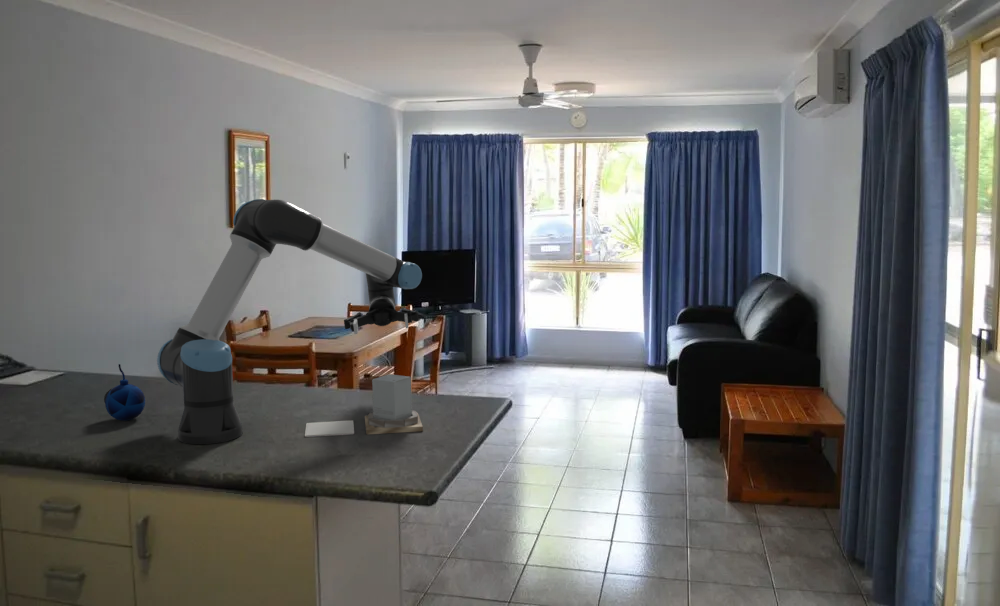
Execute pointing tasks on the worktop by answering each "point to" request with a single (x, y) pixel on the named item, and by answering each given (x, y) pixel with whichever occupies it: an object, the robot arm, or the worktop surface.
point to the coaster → (329, 428)
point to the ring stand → (393, 424)
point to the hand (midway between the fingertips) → (381, 326)
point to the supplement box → (392, 397)
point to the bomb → (124, 400)
